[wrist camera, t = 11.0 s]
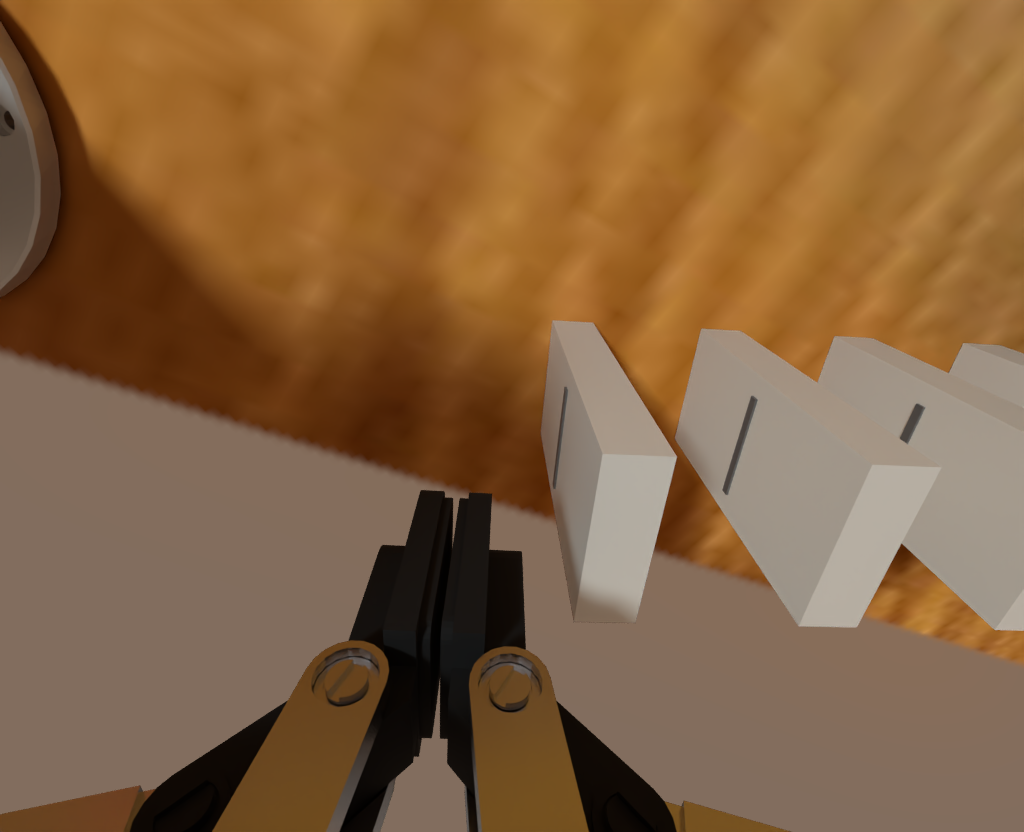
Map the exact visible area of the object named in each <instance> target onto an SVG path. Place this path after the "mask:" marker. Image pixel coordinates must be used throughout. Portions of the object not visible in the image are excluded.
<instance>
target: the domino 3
mask: <svg viewBox="0 0 1024 832" xmlns="http://www.w3.org/2000/svg"><path fill="white" fill-rule="evenodd" d="M817 383H818V384H820V385H821V386H822V387H824V388H825V389H827V390H828V391H830V392H831V393H833V394H834V395H836V396H837V397H839V398H840V399H842V400H843V401H845V402H846V403H848V404H849V405H851V406H852V407H853V408H855V409H856V410H858V411H859V412H861V413H862V414H864V415H865V416H867V417H868V418H870V419H871V420H873V421H874V422H876V423H877V424H879V425H880V426H882V427H883V428H884V429H886V430H887V431H889V432H890V433H892V434H893V435H895V436H896V437H898V438H899V439H901V440H902V441H904V442H905V443H907V444H908V445H910V446H911V447H913V448H914V449H915V450H917V451H918V452H920V453H921V454H923V455H924V456H926V457H927V458H929V459H930V460H932V461H933V462H935V463H936V464H938V465H939V466H941V467H942V468H941V470H940V472H939V474H938V476H937V478H936V479H935V481H934V483H933V485H932V487H931V489H930V491H929V493H928V494H927V496H926V498H925V500H924V502H923V504H922V506H921V508H920V509H919V511H918V513H917V515H916V517H915V519H914V521H913V523H912V525H911V526H910V528H909V530H908V532H907V534H906V536H905V538H904V540H903V541H902V544H903V545H904V546H905V547H906V548H907V549H908V550H909V551H910V552H912V553H913V554H914V555H915V556H916V557H917V558H918V559H919V560H920V561H921V562H922V563H923V564H924V565H926V566H927V567H928V568H929V569H930V570H931V571H932V572H933V573H934V574H935V575H936V576H937V577H938V578H939V579H941V580H942V581H943V582H944V583H945V584H946V585H947V586H948V587H949V588H950V589H951V590H952V591H953V592H955V593H956V594H957V595H958V596H959V597H960V598H961V599H962V600H963V601H964V602H965V603H966V604H967V605H968V606H970V607H971V608H972V609H973V610H974V611H975V612H976V613H977V614H978V615H979V616H980V617H981V618H982V619H983V620H985V621H986V622H987V623H988V624H989V625H990V626H991V627H992V628H993V629H994V630H1024V408H1022V407H1020V406H1018V405H1016V404H1014V403H1011V402H1009V401H1007V400H1005V399H1003V398H1001V397H998V396H996V395H994V394H992V393H990V392H988V391H985V390H983V389H981V388H979V387H977V386H975V385H972V384H970V383H968V382H966V381H964V380H962V379H959V378H957V377H955V376H953V375H951V374H949V373H946V372H944V371H942V370H940V369H938V368H936V367H934V366H931V365H929V364H927V363H925V362H923V361H921V360H918V359H916V358H914V357H912V356H910V355H908V354H905V353H903V352H901V351H899V350H897V349H895V348H892V347H890V346H888V345H886V344H884V343H882V342H879V341H877V340H875V339H873V338H859V337H841V336H834V339H833V342H832V344H831V347H830V350H829V353H828V355H827V358H826V361H825V363H824V366H823V369H822V372H821V374H820V377H819V380H818V382H817Z"/></svg>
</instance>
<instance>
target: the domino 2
mask: <svg viewBox="0 0 1024 832" xmlns="http://www.w3.org/2000/svg"><path fill="white" fill-rule="evenodd" d="M675 440H676V442H677V443H678V445H679V446H680V448H681V449H682V451H683V452H684V454H685V455H686V457H687V458H688V460H689V461H690V463H691V464H692V466H693V467H694V469H695V470H696V472H697V474H698V475H699V477H700V478H701V480H702V481H703V483H704V484H705V486H706V487H707V489H708V490H709V492H710V493H711V495H712V496H713V498H714V499H715V501H716V502H717V504H718V505H719V507H720V508H721V510H722V511H723V513H724V514H725V516H726V517H727V519H728V520H729V522H730V523H731V525H732V527H733V528H734V530H735V531H736V533H737V534H738V536H739V537H740V539H741V540H742V542H743V543H744V545H745V546H746V548H747V549H748V551H749V552H750V554H751V555H752V557H753V558H754V560H755V561H756V563H757V564H758V566H759V567H760V569H761V570H762V572H763V573H764V575H765V576H766V578H767V579H768V581H769V583H770V584H771V586H772V587H773V589H774V590H775V592H776V593H777V595H778V596H779V598H780V599H781V601H782V602H783V604H784V605H785V607H786V608H787V610H788V611H789V613H790V614H791V616H792V617H793V619H794V620H795V622H796V623H797V625H798V626H809V627H857V626H858V624H859V622H860V620H861V618H862V616H863V615H864V613H865V611H866V609H867V607H868V605H869V603H870V601H871V600H872V598H873V596H874V594H875V592H876V590H877V588H878V586H879V585H880V583H881V581H882V579H883V577H884V575H885V573H886V571H887V570H888V568H889V566H890V564H891V562H892V560H893V558H894V556H895V555H896V553H897V551H898V549H899V547H900V545H901V543H902V541H903V540H904V538H905V536H906V534H907V532H908V530H909V528H910V526H911V525H912V523H913V521H914V519H915V517H916V515H917V513H918V511H919V509H920V508H921V506H922V504H923V502H924V500H925V498H926V496H927V494H928V493H929V491H930V489H931V487H932V485H933V483H934V481H935V479H936V478H937V476H938V474H939V472H940V470H941V468H942V467H941V466H939V465H938V464H936V463H935V462H933V461H932V460H930V459H929V458H927V457H926V456H924V455H923V454H921V453H920V452H918V451H917V450H915V449H914V448H913V447H911V446H910V445H908V444H907V443H905V442H904V441H902V440H901V439H899V438H898V437H896V436H895V435H893V434H892V433H890V432H889V431H887V430H886V429H884V428H883V427H882V426H880V425H879V424H877V423H876V422H874V421H873V420H871V419H870V418H868V417H867V416H865V415H864V414H862V413H861V412H859V411H858V410H856V409H855V408H853V407H852V406H851V405H849V404H848V403H846V402H845V401H843V400H842V399H840V398H839V397H837V396H836V395H834V394H833V393H831V392H830V391H828V390H827V389H825V388H824V387H822V386H821V385H820V384H818V383H817V382H815V381H814V380H812V379H811V378H809V377H808V376H806V375H805V374H803V373H802V372H800V371H799V370H797V369H796V368H794V367H793V366H791V365H790V364H789V363H787V362H786V361H784V360H783V359H781V358H780V357H778V356H777V355H775V354H774V353H772V352H771V351H769V350H768V349H766V348H765V347H763V346H762V345H760V344H759V343H758V342H756V341H755V340H753V339H752V338H750V337H749V336H747V335H746V334H744V333H743V332H741V331H732V330H714V329H701V332H700V336H699V340H698V345H697V349H696V353H695V357H694V361H693V365H692V369H691V373H690V378H689V382H688V386H687V390H686V394H685V398H684V402H683V406H682V411H681V415H680V419H679V423H678V427H677V431H676V435H675Z"/></svg>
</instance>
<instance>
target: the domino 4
mask: <svg viewBox="0 0 1024 832" xmlns="http://www.w3.org/2000/svg"><path fill="white" fill-rule="evenodd" d="M949 374H951V375H953V376H955V377H957V378H959V379H962V380H964V381H966V382H968V383H970V384H972V385H975V386H977V387H979V388H981V389H983V390H985V391H988V392H990V393H992V394H994V395H996V396H998V397H1001V398H1003V399H1005V400H1007V401H1009V402H1011V403H1014V404H1016V405H1018V406H1020V407H1022V408H1024V354H1023V353H1020V352H1017V351H1015V350H1012V349H1009V348H1006V347H1003V346H1001V345H986V344H968V343H963V345H962V347H961V349H960V351H959V353H958V355H957V357H956V359H955V361H954V363H953V365H952V367H951V370H950V372H949Z"/></svg>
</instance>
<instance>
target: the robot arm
mask: <svg viewBox="0 0 1024 832" xmlns="http://www.w3.org/2000/svg"><path fill="white" fill-rule="evenodd" d="M60 197H61V189H60V176H59V163H58V154H57V150H56V146H55V142H54V138H53V135H52V131H51V127H50V123H49V119H48V115H47V112H46V109H45V107H44V105H43V102H42V100H41V98H40V95H39V93H38V91H37V88H36V86H35V84H34V81H33V79H32V77H31V74H30V72H29V70H28V67H27V65H26V64H25V62H24V60H23V58H22V57H21V55H20V53H19V52H18V50H17V48H16V47H15V45H14V43H13V42H12V40H11V38H10V37H9V35H8V33H7V32H6V30H5V28H4V26H3V25H2V23H1V21H0V297H2V296H5V295H6V294H7V293H9V292H10V291H12V290H13V289H14V288H16V287H17V286H18V285H20V284H21V283H23V282H24V281H25V280H27V279H28V278H29V276H30V275H31V274H32V273H33V271H34V270H35V269H36V267H37V266H38V265H39V264H40V262H41V261H42V260H43V258H44V257H45V255H46V253H47V250H48V248H49V245H50V243H51V240H52V238H53V235H54V233H55V230H56V227H57V220H58V212H59V205H60ZM491 503H492V494H488V493H469V499H465V498H460V500H459V507H458V514H457V521H456V528H455V536H454V542H453V548H452V535H453V498H445V492H444V491H428V490H421V492H420V495H419V498H418V502H417V506H416V509H415V513H414V517H413V520H412V524H411V528H410V531H409V535H408V539H407V542H406V546H394V545H392V546H391V545H382V546H381V548H380V550H379V552H378V555H377V558H376V561H375V564H374V567H373V570H372V573H371V576H370V579H369V582H368V585H367V588H366V591H365V594H364V597H363V600H362V603H361V605H360V608H359V611H358V614H357V617H356V621H355V623H354V626H353V629H352V632H351V635H350V638H349V641H347V642H342V643H338V644H336V645H333V646H331V647H329V648H327V649H325V650H324V651H323V652H321V653H320V654H319V655H318V656H316V657H315V658H314V659H313V661H312V662H311V663H310V665H309V666H308V667H307V669H306V670H305V672H304V674H303V675H302V677H301V679H300V681H299V682H298V684H297V686H296V688H295V689H294V691H293V693H292V695H291V696H290V698H289V700H288V701H286V702H285V703H283V704H282V705H280V706H279V707H277V708H275V709H274V710H272V711H271V712H269V713H268V714H266V715H265V716H263V717H262V718H260V719H258V720H257V721H255V722H254V723H253V724H251V725H249V726H248V727H246V728H245V729H243V730H242V731H240V732H239V733H237V734H235V735H234V736H232V737H231V738H229V739H228V740H226V741H225V742H223V743H222V744H220V745H218V746H217V747H215V748H214V749H212V750H211V751H210V752H208V753H206V754H205V755H203V756H202V757H200V758H198V759H197V760H195V761H194V762H192V763H191V764H189V765H188V766H186V767H185V768H183V769H182V770H180V771H178V772H177V773H175V774H174V775H172V776H171V777H170V778H169V779H167V780H166V781H165V782H164V783H162V784H161V785H160V786H159V787H157V788H156V789H153V790H148V791H144V792H143V790H142V788H141V786H135V787H130V788H125V789H120V790H116V791H110V792H106V793H101V794H96V795H91V796H86V797H82V798H76V799H72V800H67V801H62V802H57V803H53V804H47V805H43V806H38V807H33V808H29V809H23V810H18V811H13V812H8V813H4V814H0V832H380V831H381V827H382V825H383V822H384V819H385V815H386V812H387V809H388V806H389V803H390V800H391V797H392V794H393V791H394V785H395V779H396V777H397V776H398V775H399V774H400V773H401V772H402V771H404V770H405V769H406V768H407V767H408V766H409V765H411V763H413V758H414V756H417V757H418V756H419V753H420V746H421V740H422V738H432V733H433V726H434V719H435V711H436V704H437V696H438V689H439V681H440V738H441V739H448V753H447V763H448V765H449V766H450V767H451V768H452V770H453V771H454V772H455V773H456V775H457V776H458V777H459V778H460V780H461V781H462V782H463V783H464V784H465V807H466V822H467V832H791V831H787V830H784V829H780V828H776V827H773V826H770V825H767V824H763V823H760V822H756V821H753V820H749V819H746V818H742V817H739V816H735V815H732V814H728V813H725V812H722V811H718V810H715V809H711V808H708V807H704V806H701V805H697V804H694V803H691V802H687V801H684V802H683V804H682V806H679V805H675V804H672V803H668V802H665V801H663V799H662V798H661V797H660V796H659V795H658V794H657V793H656V791H655V790H654V789H653V788H652V787H651V786H650V785H649V784H647V783H646V782H645V781H644V780H643V779H642V778H641V777H640V776H639V775H637V774H636V773H635V772H634V771H633V770H632V769H631V768H630V767H629V766H628V765H627V764H625V763H624V762H623V761H622V760H621V759H620V758H619V757H618V756H617V755H616V754H614V753H613V752H612V751H611V750H610V749H609V748H608V747H607V746H606V745H605V744H603V743H602V742H601V741H600V740H599V739H598V738H597V737H596V736H595V735H594V734H592V733H591V732H590V731H589V730H588V729H587V728H586V727H585V726H584V725H583V724H581V723H580V722H579V721H578V720H577V719H576V718H575V717H574V716H572V715H571V714H570V713H569V712H568V711H567V710H566V709H565V708H564V707H563V706H562V705H561V704H559V703H558V702H557V701H556V698H555V694H554V690H553V686H552V681H551V677H550V675H549V673H548V670H547V668H546V666H545V665H544V664H543V663H542V661H541V660H540V659H539V658H538V657H537V656H535V655H534V654H532V653H530V652H529V651H527V650H526V644H525V619H524V593H523V566H522V552H521V551H503V550H489V544H490V523H491Z"/></svg>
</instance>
